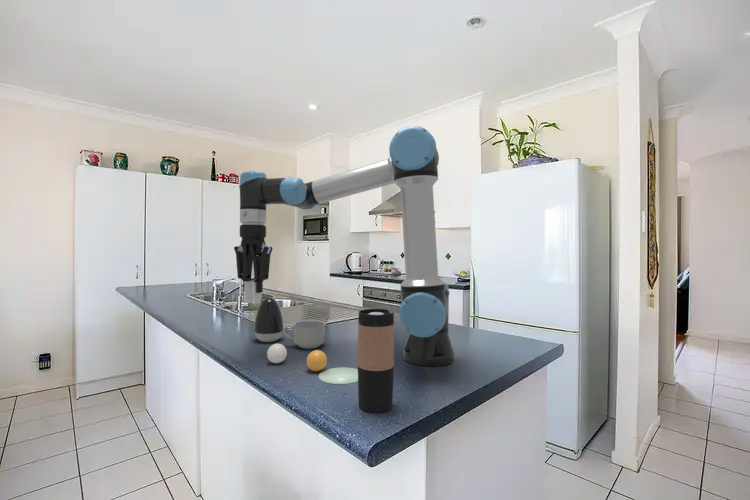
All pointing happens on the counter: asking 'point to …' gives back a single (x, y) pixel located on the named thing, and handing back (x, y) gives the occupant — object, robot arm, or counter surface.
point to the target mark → (339, 375)
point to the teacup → (307, 333)
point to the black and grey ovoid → (268, 321)
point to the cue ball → (276, 353)
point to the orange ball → (316, 360)
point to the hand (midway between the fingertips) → (252, 303)
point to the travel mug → (375, 360)
